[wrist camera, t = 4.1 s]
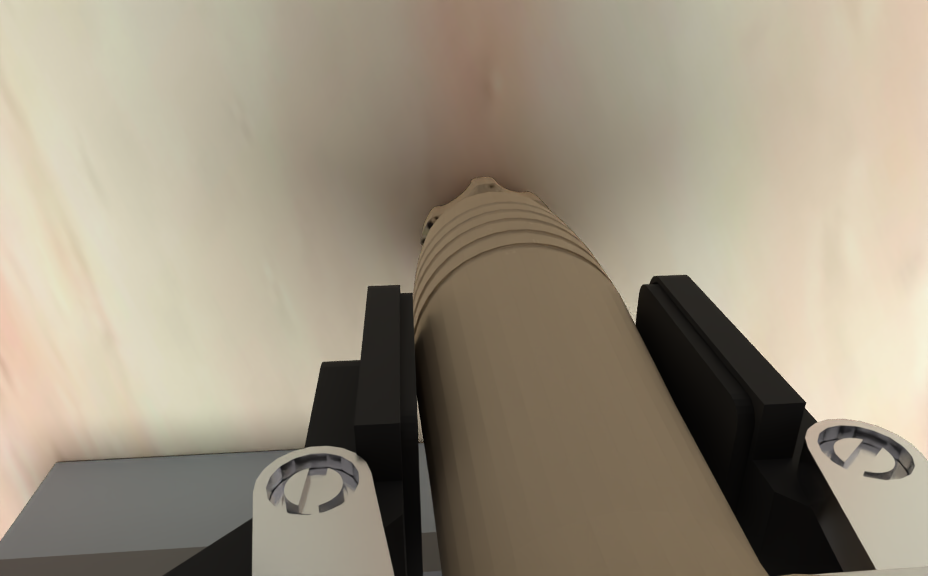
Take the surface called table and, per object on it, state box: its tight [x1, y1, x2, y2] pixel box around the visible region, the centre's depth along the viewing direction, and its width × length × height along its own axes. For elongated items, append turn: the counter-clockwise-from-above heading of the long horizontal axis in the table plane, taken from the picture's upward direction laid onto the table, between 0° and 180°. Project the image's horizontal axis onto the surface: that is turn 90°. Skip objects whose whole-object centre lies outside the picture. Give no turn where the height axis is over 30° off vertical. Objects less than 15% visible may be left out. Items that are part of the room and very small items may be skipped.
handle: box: [413, 177, 830, 576], centre depth 11 cm, size 5×6×15 cm
